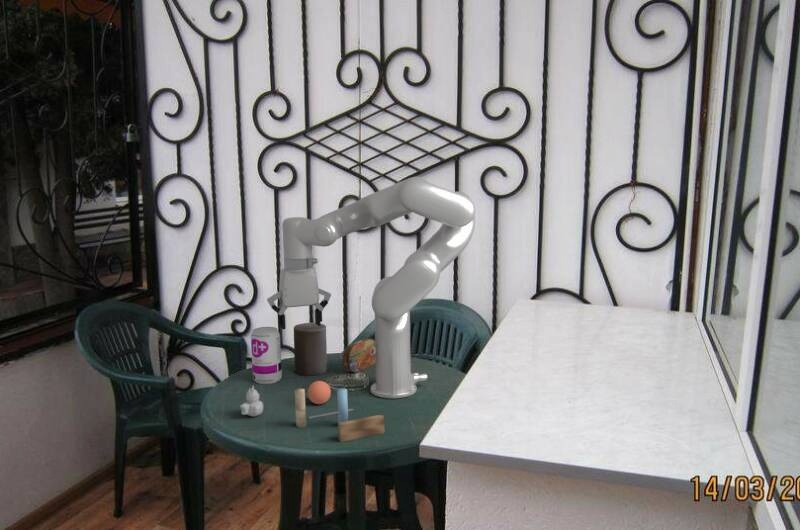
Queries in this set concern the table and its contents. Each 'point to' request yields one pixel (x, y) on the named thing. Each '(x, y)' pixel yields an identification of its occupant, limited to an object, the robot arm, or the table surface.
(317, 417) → the lane line
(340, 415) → the pin
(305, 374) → the pillar candle
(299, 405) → the birch pin
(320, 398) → the ball
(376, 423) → the back rail
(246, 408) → the white figurine
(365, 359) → the tin
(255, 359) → the supplement can
